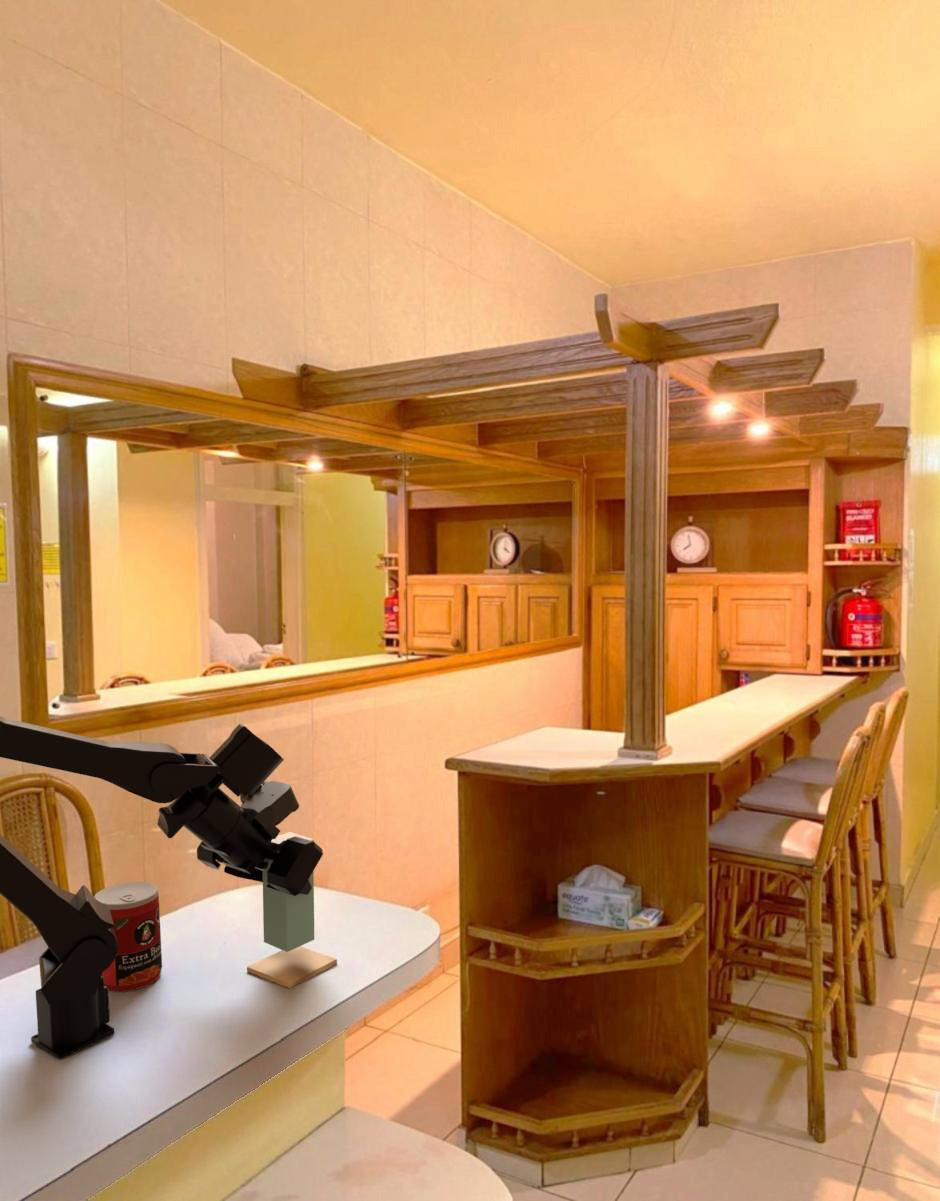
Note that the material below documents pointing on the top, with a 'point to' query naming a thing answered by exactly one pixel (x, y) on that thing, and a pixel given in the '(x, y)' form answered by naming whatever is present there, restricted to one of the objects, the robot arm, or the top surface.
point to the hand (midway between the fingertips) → (296, 886)
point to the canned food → (133, 935)
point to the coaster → (291, 966)
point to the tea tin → (287, 912)
